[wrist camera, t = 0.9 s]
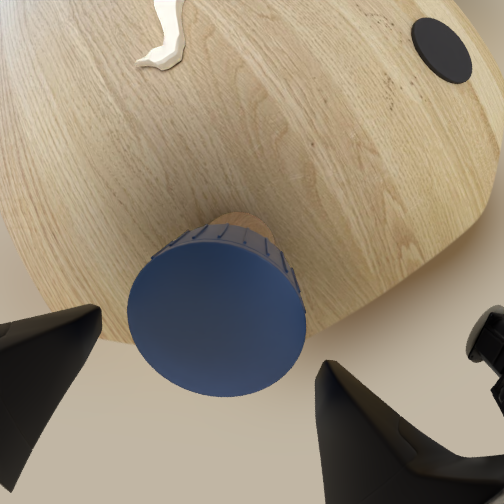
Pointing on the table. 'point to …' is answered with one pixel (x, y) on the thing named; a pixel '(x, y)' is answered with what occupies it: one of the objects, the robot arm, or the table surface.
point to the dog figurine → (167, 36)
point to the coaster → (442, 50)
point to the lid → (218, 312)
